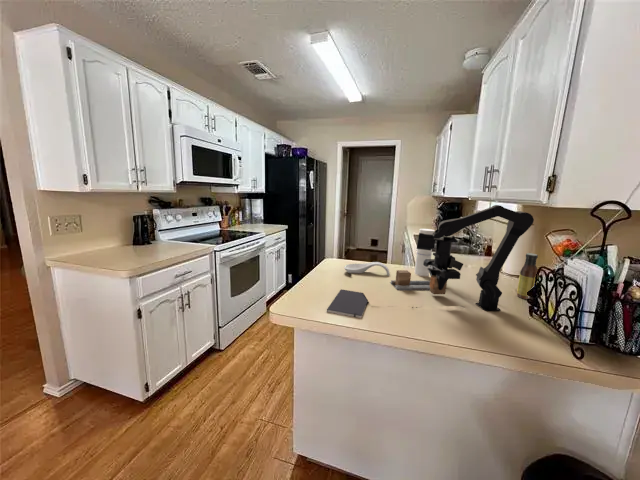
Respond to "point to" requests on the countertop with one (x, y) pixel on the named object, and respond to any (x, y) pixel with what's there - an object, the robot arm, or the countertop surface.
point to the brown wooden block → (436, 286)
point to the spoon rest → (363, 267)
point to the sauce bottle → (527, 276)
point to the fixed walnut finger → (402, 277)
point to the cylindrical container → (423, 257)
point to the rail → (413, 286)
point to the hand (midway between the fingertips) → (438, 288)
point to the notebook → (348, 303)
